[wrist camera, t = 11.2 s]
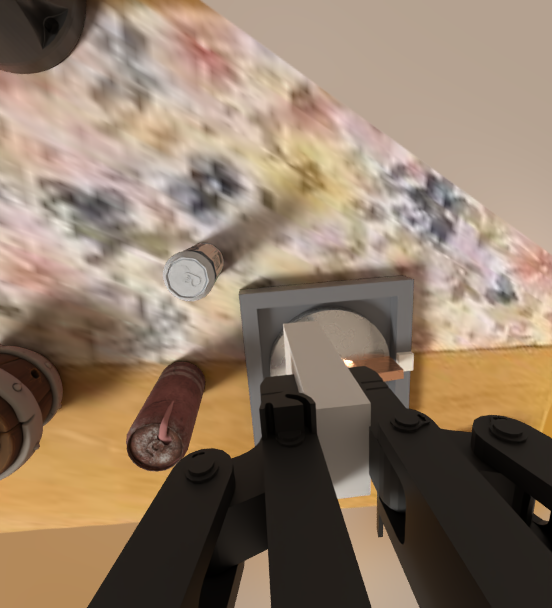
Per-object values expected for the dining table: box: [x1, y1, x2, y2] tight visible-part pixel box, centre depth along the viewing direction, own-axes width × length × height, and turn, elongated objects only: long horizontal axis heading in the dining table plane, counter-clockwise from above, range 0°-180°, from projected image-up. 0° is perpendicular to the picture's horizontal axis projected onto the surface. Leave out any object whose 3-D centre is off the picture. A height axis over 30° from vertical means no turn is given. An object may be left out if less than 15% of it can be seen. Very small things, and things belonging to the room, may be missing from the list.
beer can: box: [163, 243, 224, 301], centre depth 35 cm, size 5×5×12 cm
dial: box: [269, 306, 404, 383], centre depth 41 cm, size 16×16×6 cm
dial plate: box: [239, 275, 414, 446], centre depth 44 cm, size 22×22×4 cm
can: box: [126, 362, 205, 471], centre depth 38 cm, size 6×6×14 cm
